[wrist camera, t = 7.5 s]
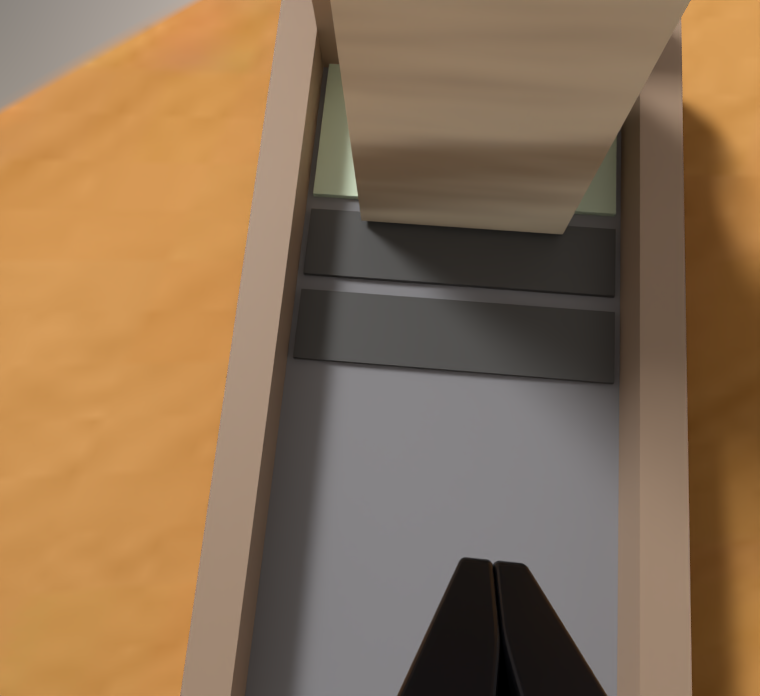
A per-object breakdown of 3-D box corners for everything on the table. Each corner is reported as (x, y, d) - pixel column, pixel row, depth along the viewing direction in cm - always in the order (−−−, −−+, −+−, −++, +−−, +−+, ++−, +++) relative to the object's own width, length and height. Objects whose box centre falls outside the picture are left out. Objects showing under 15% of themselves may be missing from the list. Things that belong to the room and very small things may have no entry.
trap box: (648, 763, 19) (734, 848, 14) (207, 715, 19) (141, 779, 14) (646, 76, 24) (709, -38, 19) (297, 57, 24) (270, -59, 20)
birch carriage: (565, 237, 21) (737, -66, 10) (358, 223, 21) (309, -85, 10) (570, 83, 22) (726, -332, 11) (373, 72, 22) (345, -341, 12)
